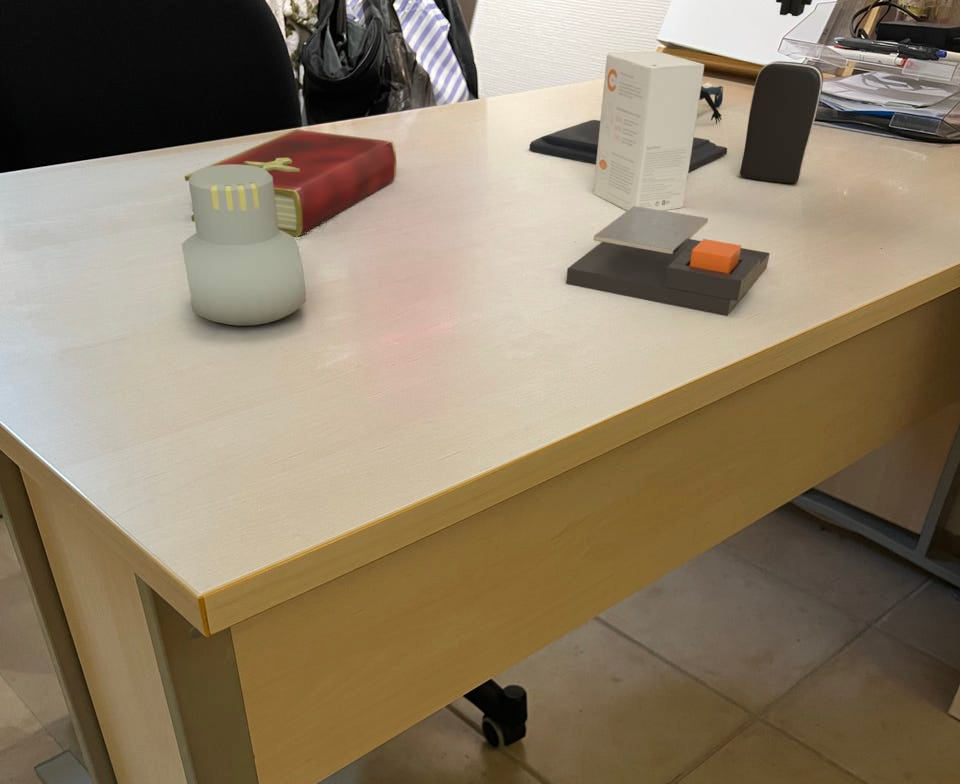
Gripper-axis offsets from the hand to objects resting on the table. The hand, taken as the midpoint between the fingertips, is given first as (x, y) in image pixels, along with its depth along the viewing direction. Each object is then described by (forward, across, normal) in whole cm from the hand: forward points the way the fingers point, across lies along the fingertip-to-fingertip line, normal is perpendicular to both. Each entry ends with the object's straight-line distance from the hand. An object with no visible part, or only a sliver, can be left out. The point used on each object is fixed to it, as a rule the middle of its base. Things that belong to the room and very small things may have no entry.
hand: (791, 13), depth 85 cm
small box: (+18, +12, +2) cm, 21 cm away
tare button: (+15, -2, +25) cm, 29 cm away
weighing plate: (+14, +5, +20) cm, 25 cm away
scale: (+17, +2, +22) cm, 28 cm away
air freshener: (+18, +29, +46) cm, 57 cm away
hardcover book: (+18, +42, +19) cm, 49 cm away
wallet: (+18, +19, -18) cm, 31 cm away
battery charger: (+18, +1, -15) cm, 23 cm away
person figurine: (+18, +19, -42) cm, 49 cm away
